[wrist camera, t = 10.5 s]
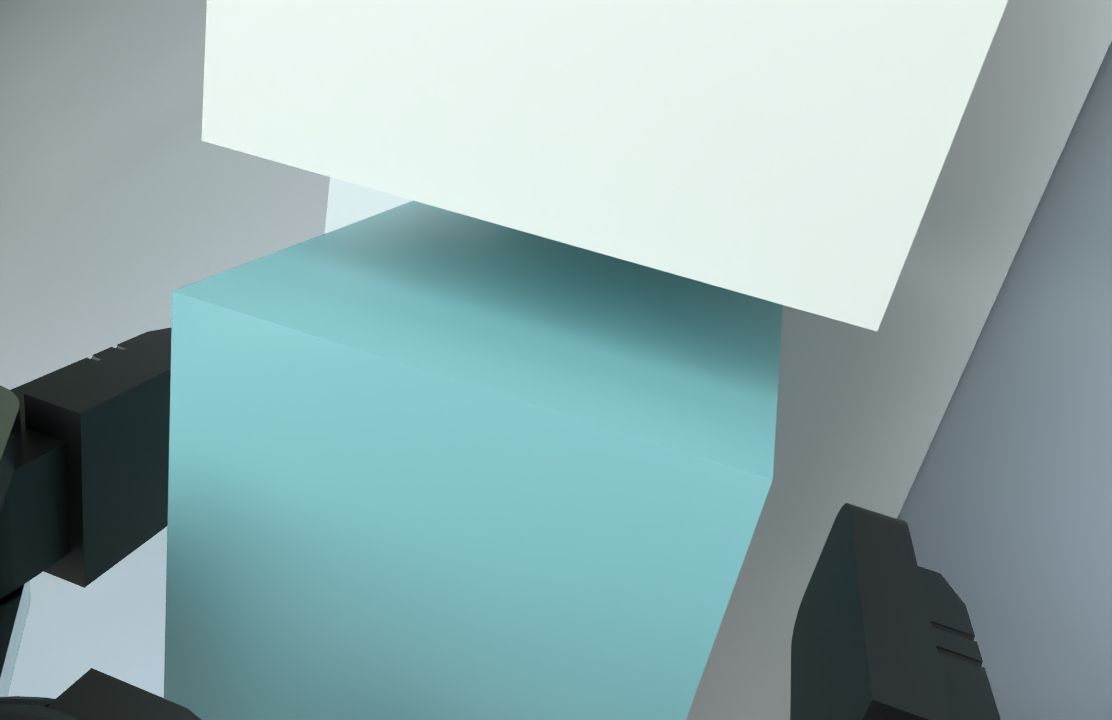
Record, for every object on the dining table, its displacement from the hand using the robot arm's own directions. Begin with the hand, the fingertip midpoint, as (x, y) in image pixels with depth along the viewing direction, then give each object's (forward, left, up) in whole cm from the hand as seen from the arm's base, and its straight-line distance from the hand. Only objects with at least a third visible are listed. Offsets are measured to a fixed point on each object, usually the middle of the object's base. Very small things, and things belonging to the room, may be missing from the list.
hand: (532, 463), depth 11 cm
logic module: (0, 0, -4) cm, 4 cm away
